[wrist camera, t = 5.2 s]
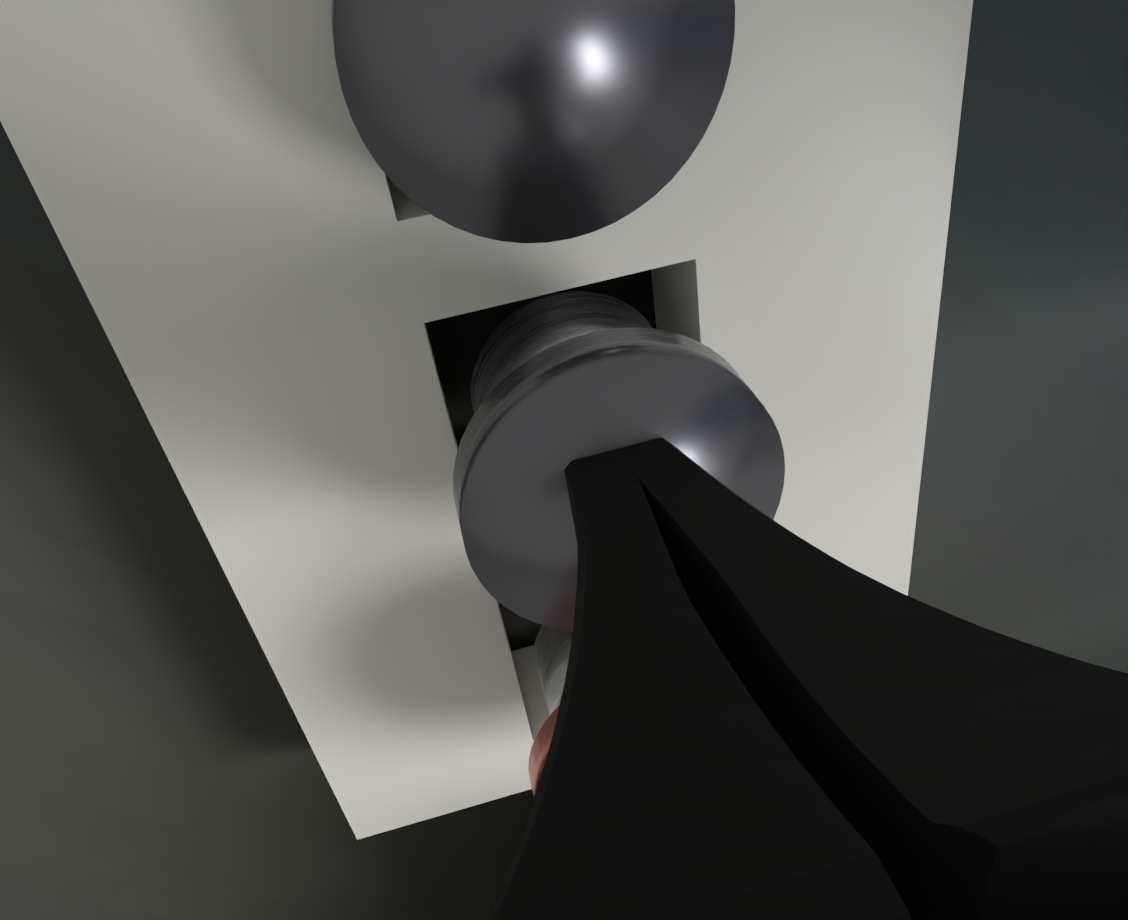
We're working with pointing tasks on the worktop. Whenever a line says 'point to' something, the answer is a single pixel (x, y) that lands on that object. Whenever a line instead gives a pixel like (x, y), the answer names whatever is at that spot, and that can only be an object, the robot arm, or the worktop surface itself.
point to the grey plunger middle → (589, 435)
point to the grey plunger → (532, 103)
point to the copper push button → (548, 691)
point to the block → (457, 286)
